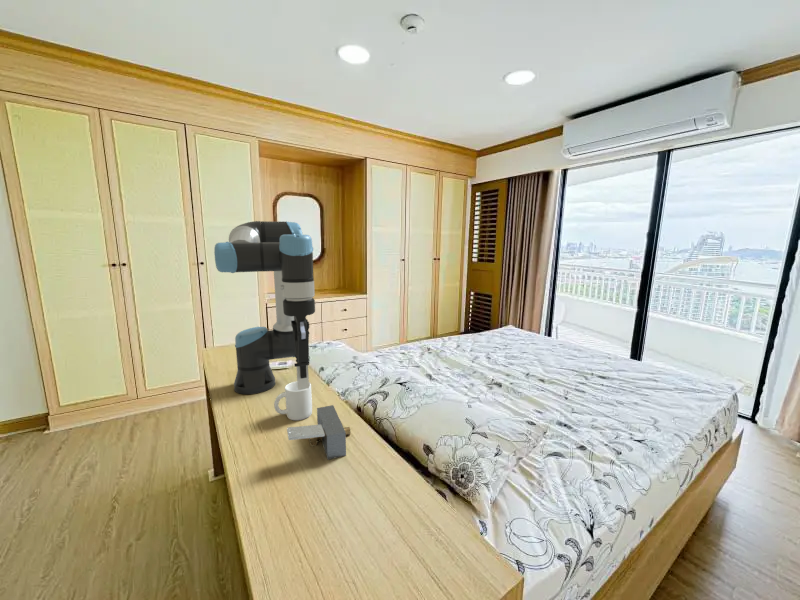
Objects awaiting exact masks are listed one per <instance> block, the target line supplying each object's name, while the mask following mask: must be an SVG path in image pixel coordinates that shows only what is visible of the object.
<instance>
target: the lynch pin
mask: <svg viewBox="0 0 800 600" xmlns="http://www.w3.org/2000/svg"><path fill="white" fill-rule="evenodd" d="M344 430H345V432H346V436H349V435H351V427H350V426H345V427H344ZM321 441H322V437H314V438H308V442H309V445H310V447H313V446H317V445H318V442H321Z"/></svg>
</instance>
